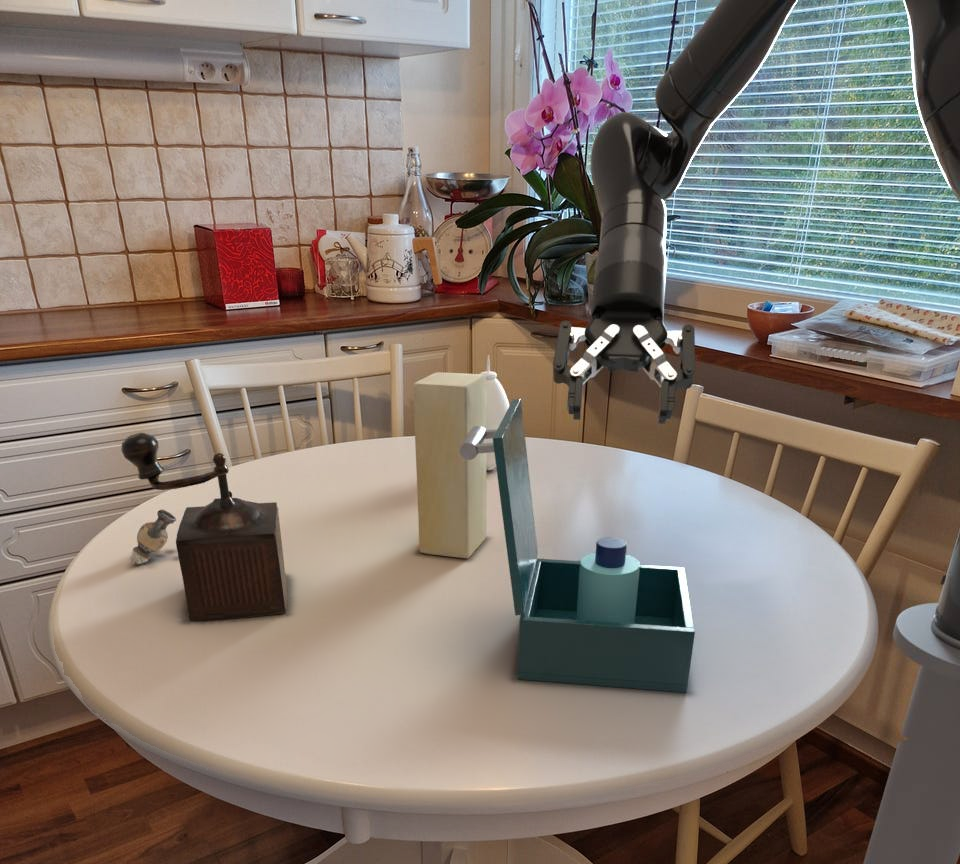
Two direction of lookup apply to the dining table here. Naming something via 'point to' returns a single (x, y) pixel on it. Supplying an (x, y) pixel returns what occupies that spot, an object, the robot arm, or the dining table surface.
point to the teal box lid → (511, 495)
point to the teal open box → (607, 632)
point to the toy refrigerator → (449, 463)
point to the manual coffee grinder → (221, 544)
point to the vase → (152, 537)
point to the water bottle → (608, 583)
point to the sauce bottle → (493, 408)
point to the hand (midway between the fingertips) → (619, 417)
